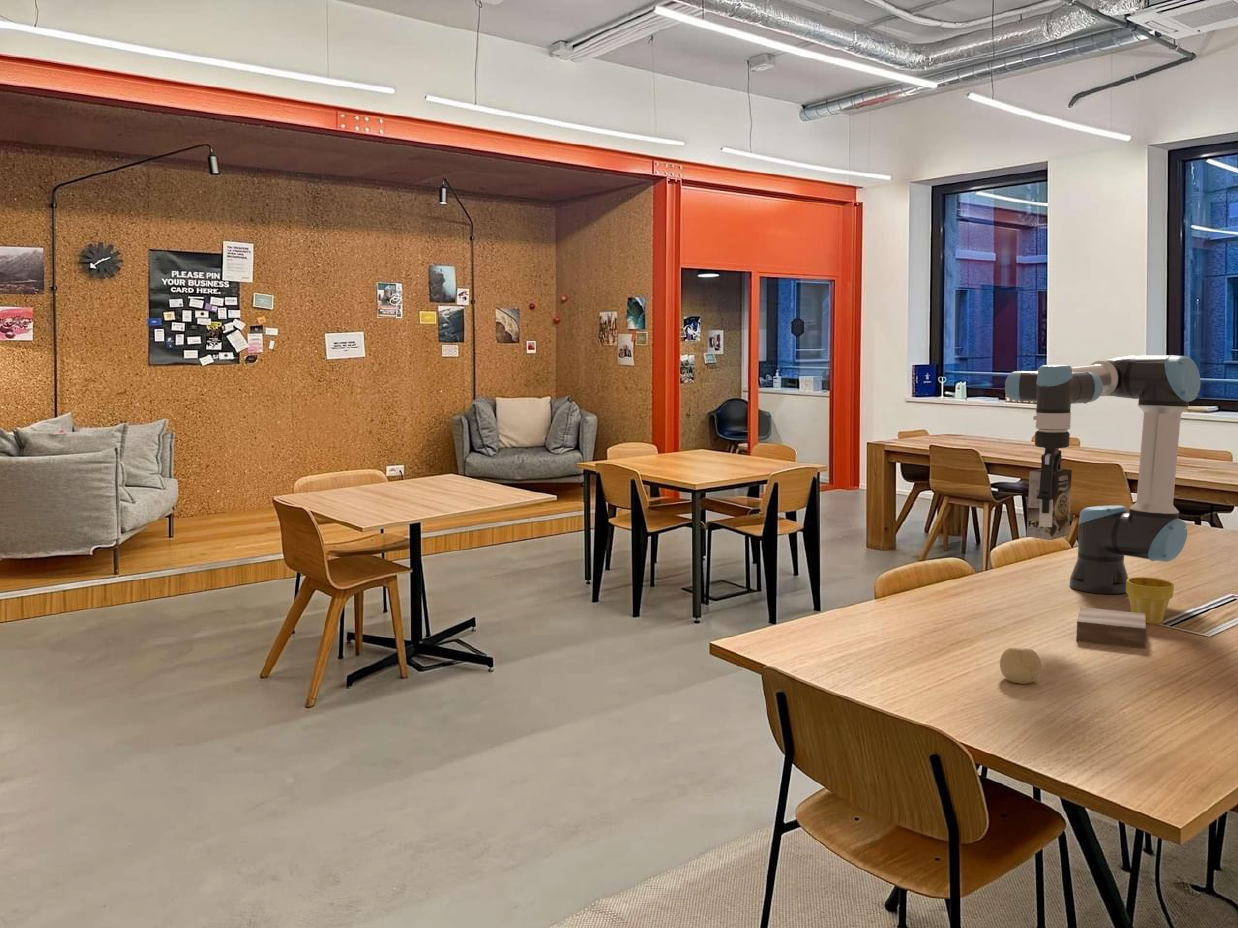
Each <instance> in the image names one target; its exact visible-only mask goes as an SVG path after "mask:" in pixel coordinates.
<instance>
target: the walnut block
mask: <svg viewBox="0 0 1238 928" xmlns="http://www.w3.org/2000/svg"><path fill="white" fill-rule="evenodd" d="M1146 626H1147V623H1146V619H1145V613H1135V612H1131V611H1125V610H1115V609H1104V608H1094V607H1084V606H1079V611H1078V616H1077V621H1076V640H1075V641H1076V642H1081V643H1082V642H1083V643H1093V644H1102V645H1107V646H1108V645H1109V646H1118V647H1128V648H1134V649H1144V650H1145V649H1146V632H1147V631H1146V630H1147V627H1146Z"/></svg>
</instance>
